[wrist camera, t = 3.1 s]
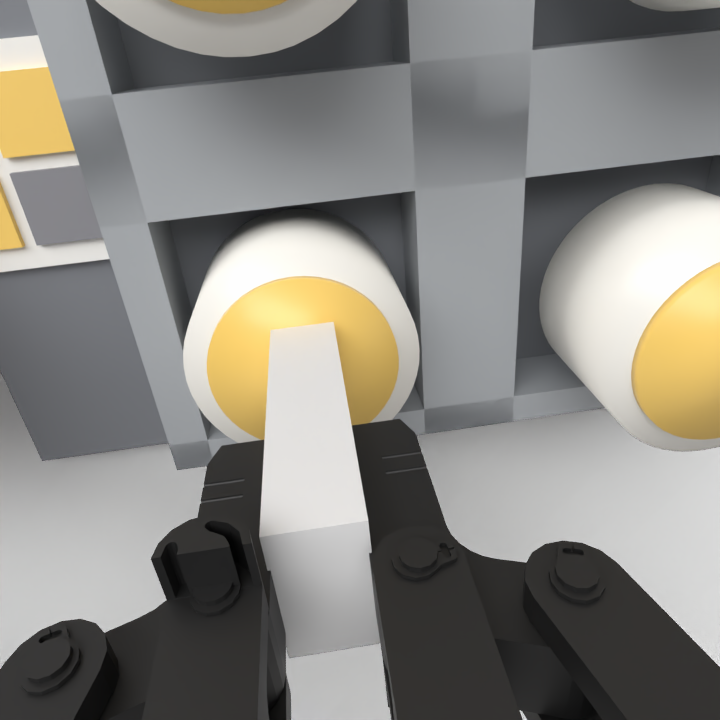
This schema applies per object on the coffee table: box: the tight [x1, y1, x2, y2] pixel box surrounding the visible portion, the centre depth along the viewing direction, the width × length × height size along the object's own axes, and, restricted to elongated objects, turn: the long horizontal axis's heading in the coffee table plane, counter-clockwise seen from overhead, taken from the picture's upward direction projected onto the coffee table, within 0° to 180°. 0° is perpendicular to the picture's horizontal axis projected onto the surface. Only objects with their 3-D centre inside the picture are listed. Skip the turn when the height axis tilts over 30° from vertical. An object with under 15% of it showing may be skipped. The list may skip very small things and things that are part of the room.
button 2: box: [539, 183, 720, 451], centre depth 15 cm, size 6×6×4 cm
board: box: [0, 0, 720, 470], centre depth 16 cm, size 25×20×3 cm
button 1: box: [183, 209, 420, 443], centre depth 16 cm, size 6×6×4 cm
